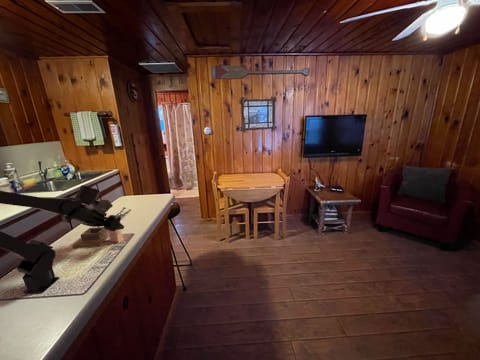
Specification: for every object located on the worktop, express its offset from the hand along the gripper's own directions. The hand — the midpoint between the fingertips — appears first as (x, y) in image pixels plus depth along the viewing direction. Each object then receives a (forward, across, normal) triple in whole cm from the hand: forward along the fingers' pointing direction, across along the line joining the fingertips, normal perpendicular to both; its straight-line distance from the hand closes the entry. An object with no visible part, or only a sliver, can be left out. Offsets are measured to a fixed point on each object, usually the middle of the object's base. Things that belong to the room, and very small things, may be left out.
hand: (116, 226), depth 92 cm
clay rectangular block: (+4, 0, +6) cm, 7 cm away
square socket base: (+3, +12, +7) cm, 14 cm away
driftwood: (+20, +23, -9) cm, 32 cm away
